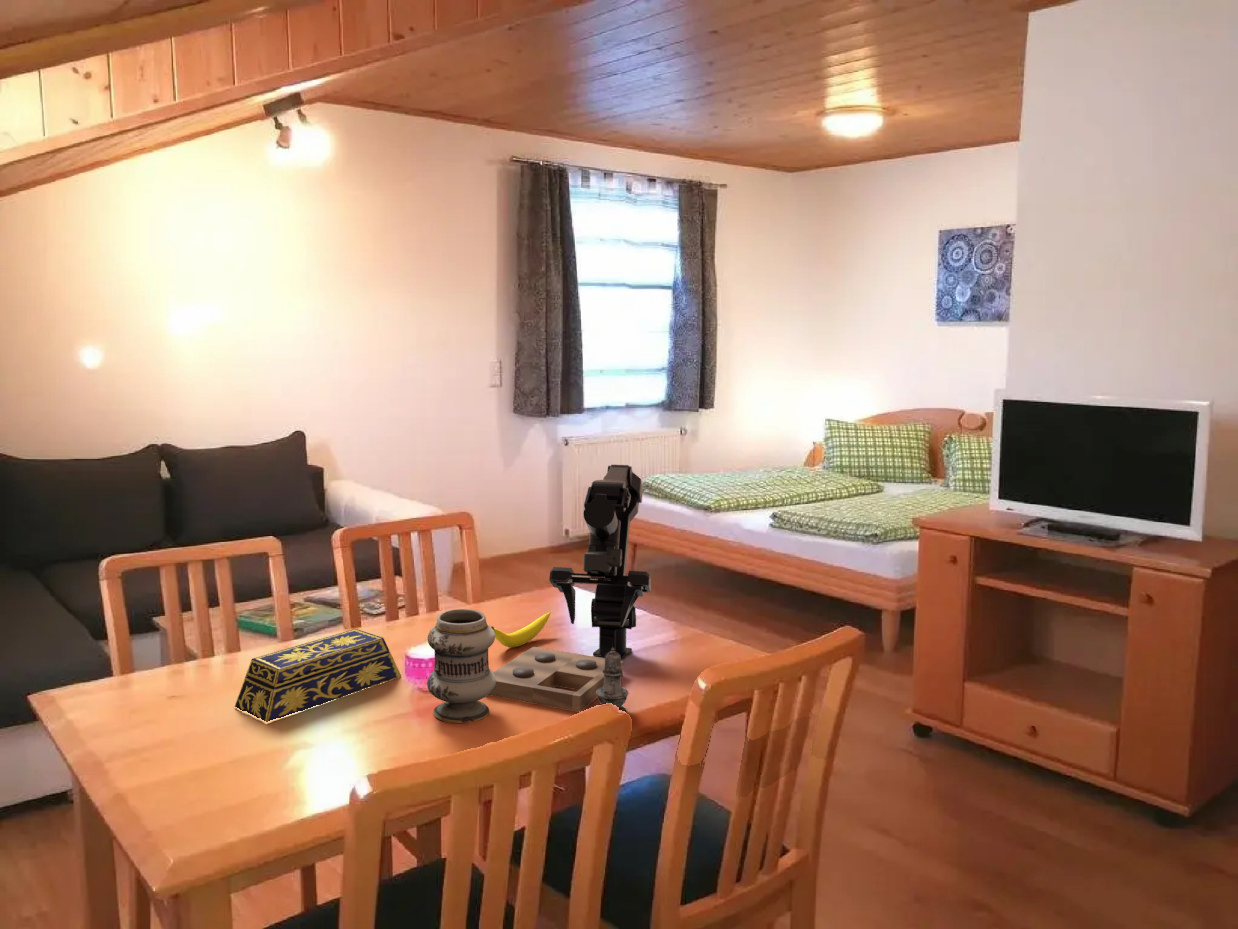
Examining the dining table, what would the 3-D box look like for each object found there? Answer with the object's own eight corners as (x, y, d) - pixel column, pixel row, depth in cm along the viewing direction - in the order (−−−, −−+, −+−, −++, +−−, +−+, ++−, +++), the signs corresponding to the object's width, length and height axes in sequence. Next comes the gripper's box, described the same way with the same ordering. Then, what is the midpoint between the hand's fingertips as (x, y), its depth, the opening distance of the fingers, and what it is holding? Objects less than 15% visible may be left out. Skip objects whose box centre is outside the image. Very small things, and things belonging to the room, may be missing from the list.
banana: (555, 634, 221) (555, 607, 220) (496, 657, 205) (496, 628, 205) (545, 632, 222) (545, 604, 221) (486, 654, 207) (486, 625, 206)
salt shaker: (624, 719, 175) (625, 653, 174) (592, 716, 177) (593, 651, 175) (631, 706, 181) (632, 643, 179) (599, 703, 182) (600, 640, 180)
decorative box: (402, 678, 194) (401, 634, 193) (265, 727, 171) (263, 677, 169) (367, 666, 201) (366, 623, 199) (231, 711, 177) (228, 662, 176)
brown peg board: (533, 660, 204) (533, 644, 203) (622, 675, 196) (623, 658, 196) (483, 694, 186) (483, 675, 185) (579, 712, 178) (580, 693, 177)
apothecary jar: (439, 731, 169) (438, 629, 166) (419, 706, 180) (417, 610, 177) (505, 719, 175) (505, 620, 172) (482, 695, 185) (482, 602, 182)
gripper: (548, 529, 183) (539, 613, 178) (649, 534, 181) (643, 618, 175) (558, 546, 193) (550, 625, 188) (653, 550, 191) (648, 631, 186)
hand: (596, 625), depth 184 cm, fingers open, 9 cm apart
